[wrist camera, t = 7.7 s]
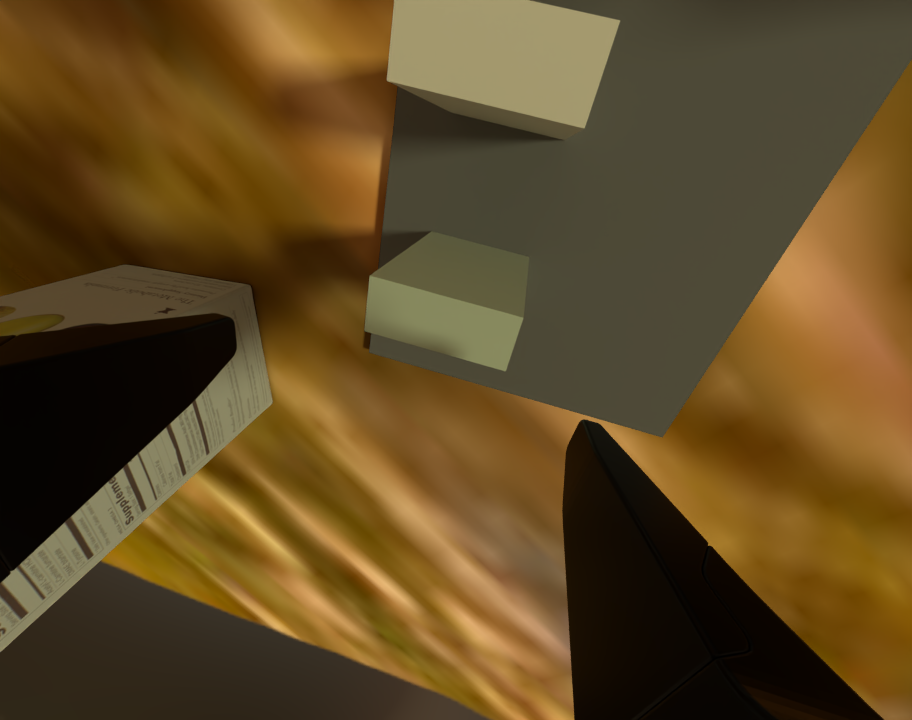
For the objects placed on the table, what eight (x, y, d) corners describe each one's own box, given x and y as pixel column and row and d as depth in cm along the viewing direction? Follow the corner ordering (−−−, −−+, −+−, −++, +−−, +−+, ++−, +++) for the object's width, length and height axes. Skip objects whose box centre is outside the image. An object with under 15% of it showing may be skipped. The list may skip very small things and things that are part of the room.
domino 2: (529, 256, 18) (523, 317, 12) (517, 294, 19) (505, 371, 13) (431, 231, 19) (369, 275, 12) (425, 269, 20) (364, 331, 13)
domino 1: (582, 82, 15) (620, 20, 8) (564, 140, 16) (584, 128, 9) (461, 54, 15) (397, -29, 8) (451, 112, 16) (386, 81, 9)
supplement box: (254, 281, 23) (-243, 502, 8) (277, 404, 27) (-18, 686, 13) (118, 261, 24) (-524, 422, 10) (162, 381, 29) (-228, 616, 14)
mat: (1591, -1013, 6) (1688, -1120, 6) (659, 430, 22) (662, 437, 22) (531, -1058, 7) (530, -1151, 7) (372, 348, 23) (369, 352, 23)
